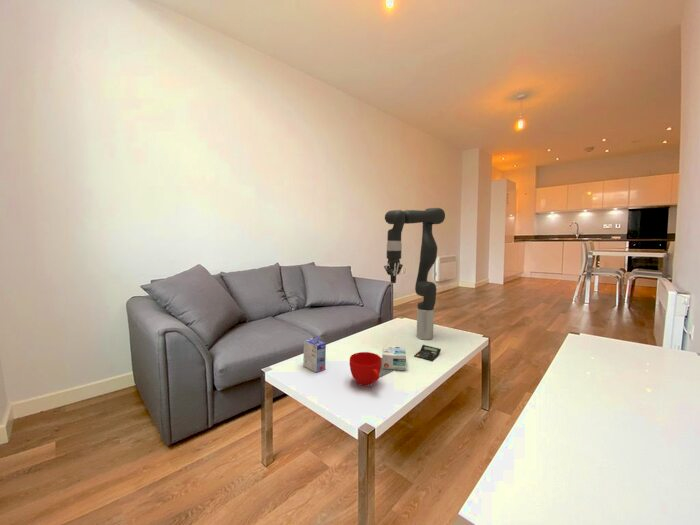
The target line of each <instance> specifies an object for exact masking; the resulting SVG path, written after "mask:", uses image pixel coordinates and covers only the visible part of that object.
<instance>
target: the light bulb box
mask: <svg viewBox="0 0 700 525" xmlns="http://www.w3.org/2000/svg"><path fill="white" fill-rule="evenodd" d="M381 356H382V357H381V358H382V368H383V369H396V370H398V371H399V370H402V371H406V369H407V352H406V347H405V346H395V345H394V346H393V345H383V346H382V354H381Z"/></svg>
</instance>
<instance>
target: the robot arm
mask: <svg viewBox="0 0 700 525" xmlns="http://www.w3.org/2000/svg"><path fill="white" fill-rule="evenodd" d="M445 219H446V212H445V210H444V209H442V208H440V207H429V208H425V210H414V209H408V210H407V209H406V210H402V209H396V210H395V209H394V210H389V211H386V213H385V215H384V220H385V223H387V224H389V225H392V228H390V229H389V230H388V231H387V237H386V238H387V242H386V259H387V264H386V265H383V268H384V269H385V272H386V273H387V275H388V276H390V283H391V284H396V283H397V275H399V274H400V272H401V270H402V269H403V264H401V259H402V232H403V229H404V225H406V224H409V225H411V224H419V223H422V234H421V235H422V236H421V246H420V253H419V254H420V255H419V266H418V270H417V271H418V272H417V276H416V280H415V287H414V289H415V293H416V295H417V296H420V297H422V298H423V300H422V301H420V302H418V303H417V307H416V308H417V310H416V311H417V312H416V313H417V314H416V338H417V339H419V340H423V341H427V340H432V339H433V337H434V330H435V328H434V323H435V322H434V315H435V314H434V313H435V311H434V310H435V309H434V308H435V304H436V301H437V300H436V299H437V285H436V284H435V283H434V282H432V281H428V276H429V272H430V270H431V269H432V267H433V266H434V264H436V260H437V257H438V256H437V255H438V245H437V241H436V240H435V237H434V235H433V225H441V224H442V223H443V222H444V221H445Z"/></svg>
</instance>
